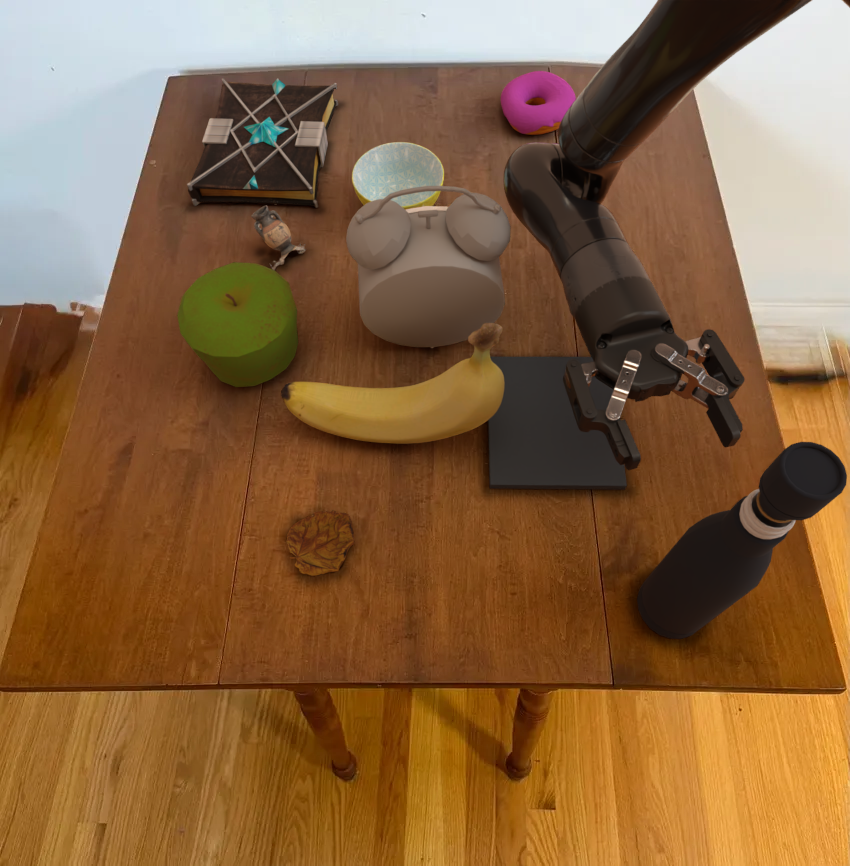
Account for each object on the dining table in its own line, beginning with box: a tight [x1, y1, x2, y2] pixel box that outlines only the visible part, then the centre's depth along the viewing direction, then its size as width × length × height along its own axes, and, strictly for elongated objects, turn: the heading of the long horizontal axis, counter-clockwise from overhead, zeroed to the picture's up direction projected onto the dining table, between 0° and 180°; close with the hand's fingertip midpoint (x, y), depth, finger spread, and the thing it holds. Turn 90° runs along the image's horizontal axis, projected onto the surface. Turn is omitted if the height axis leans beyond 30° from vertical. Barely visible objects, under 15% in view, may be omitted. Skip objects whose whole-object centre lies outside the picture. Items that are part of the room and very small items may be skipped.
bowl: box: [351, 141, 445, 210], centre depth 91 cm, size 11×12×6 cm
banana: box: [280, 322, 504, 445], centre depth 69 cm, size 23×6×20 cm, turn 84°
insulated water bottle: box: [636, 441, 848, 640], centre depth 55 cm, size 6×6×30 cm
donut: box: [500, 70, 577, 136], centre depth 100 cm, size 10×10×5 cm
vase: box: [251, 205, 307, 270], centre depth 88 cm, size 5×5×6 cm
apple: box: [177, 261, 299, 388], centre depth 78 cm, size 12×12×11 cm
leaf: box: [285, 509, 355, 577], centre depth 71 cm, size 6×7×2 cm
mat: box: [487, 356, 628, 491], centre depth 78 cm, size 14×16×1 cm
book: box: [186, 77, 339, 209], centre depth 98 cm, size 22×17×5 cm
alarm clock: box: [345, 185, 512, 349], centre depth 75 cm, size 16×9×22 cm, turn 94°
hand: (684, 453), depth 58 cm, fingers open, 8 cm apart
